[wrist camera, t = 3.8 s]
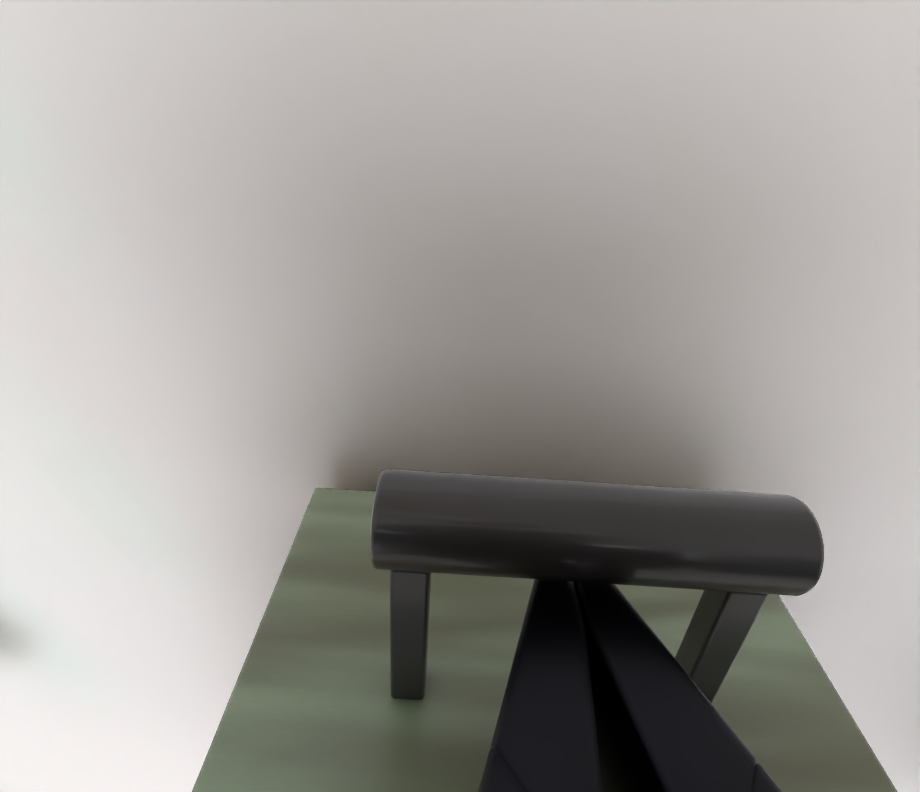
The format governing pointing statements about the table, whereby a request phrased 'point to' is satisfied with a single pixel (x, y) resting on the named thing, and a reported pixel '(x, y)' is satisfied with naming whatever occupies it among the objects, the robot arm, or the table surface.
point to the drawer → (500, 622)
